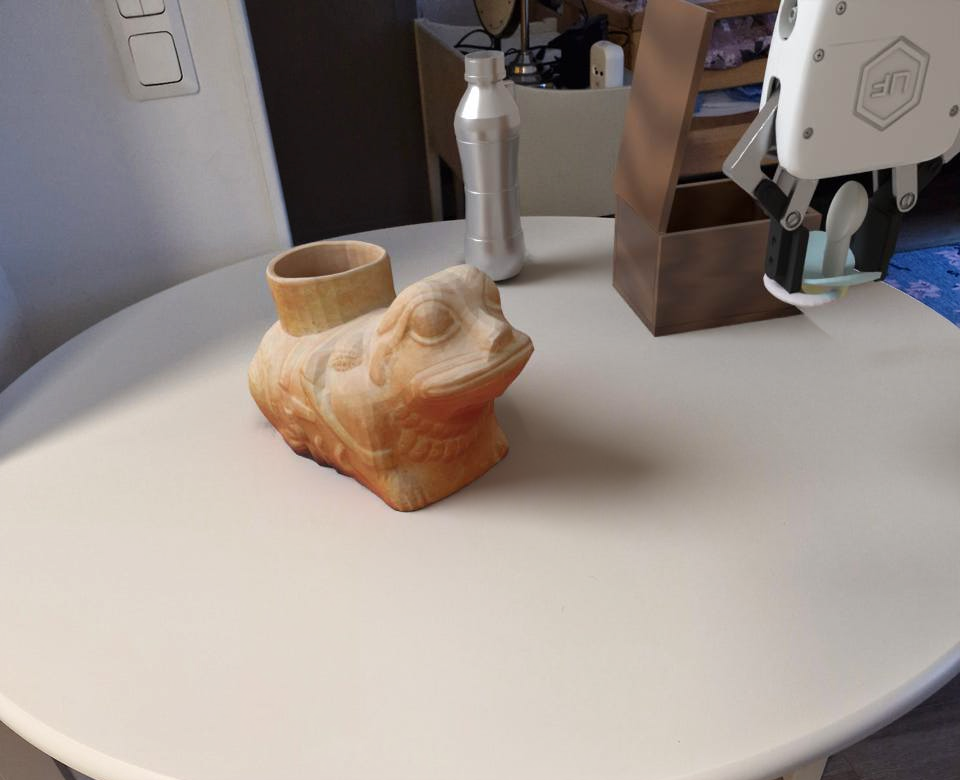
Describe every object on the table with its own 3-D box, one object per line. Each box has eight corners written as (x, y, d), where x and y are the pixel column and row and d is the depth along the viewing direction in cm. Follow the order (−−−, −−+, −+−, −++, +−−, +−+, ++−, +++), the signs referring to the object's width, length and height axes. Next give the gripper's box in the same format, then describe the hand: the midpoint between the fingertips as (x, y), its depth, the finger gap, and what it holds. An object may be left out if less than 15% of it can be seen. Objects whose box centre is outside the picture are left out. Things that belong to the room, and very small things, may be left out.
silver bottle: (537, 269, 95) (533, 48, 82) (506, 292, 91) (496, 64, 78) (485, 260, 98) (473, 45, 84) (453, 283, 94) (434, 61, 80)
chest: (747, 265, 92) (760, 173, 86) (803, 313, 83) (822, 214, 77) (612, 285, 91) (615, 193, 85) (654, 336, 82) (661, 237, 76)
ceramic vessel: (447, 550, 60) (423, 337, 50) (227, 429, 74) (173, 243, 64) (578, 463, 67) (580, 260, 57) (354, 367, 81) (323, 191, 71)
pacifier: (788, 323, 53) (886, 308, 53) (803, 213, 49) (910, 197, 49) (746, 277, 59) (836, 263, 59) (756, 174, 54) (853, 159, 54)
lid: (658, -11, 75) (649, -12, 74) (717, 12, 65) (707, 11, 65) (619, 188, 85) (611, 188, 85) (666, 232, 76) (657, 231, 75)
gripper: (760, -65, 40) (718, 328, 52) (1109, -111, 41) (987, 281, 54) (697, -79, 45) (673, 280, 58) (1008, -120, 47) (918, 239, 59)
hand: (825, 277), depth 56 cm, fingers closed on pacifier, 4 cm apart
